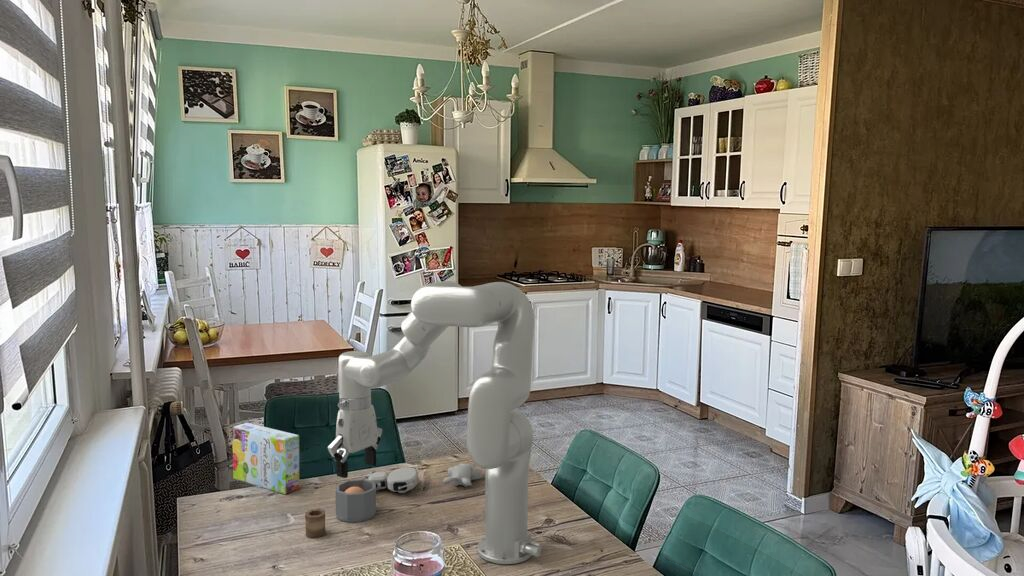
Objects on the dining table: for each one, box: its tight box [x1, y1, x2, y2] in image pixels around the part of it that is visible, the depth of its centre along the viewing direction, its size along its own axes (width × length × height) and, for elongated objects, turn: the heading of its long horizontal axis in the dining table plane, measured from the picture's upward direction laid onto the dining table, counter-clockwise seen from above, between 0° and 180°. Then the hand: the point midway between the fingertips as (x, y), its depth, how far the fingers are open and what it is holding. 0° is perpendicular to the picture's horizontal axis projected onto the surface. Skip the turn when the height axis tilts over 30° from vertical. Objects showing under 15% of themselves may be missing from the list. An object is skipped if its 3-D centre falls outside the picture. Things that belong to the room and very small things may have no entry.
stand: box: [304, 508, 326, 539], centre depth 165 cm, size 4×4×5 cm
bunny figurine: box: [442, 463, 483, 488], centre depth 196 cm, size 10×5×15 cm
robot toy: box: [363, 466, 420, 494], centre depth 192 cm, size 12×4×15 cm
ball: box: [345, 487, 365, 494], centre depth 175 cm, size 6×6×6 cm
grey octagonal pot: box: [335, 478, 377, 523], centre depth 175 cm, size 10×10×7 cm
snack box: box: [231, 422, 300, 495], centre depth 193 cm, size 21×6×15 cm, turn 59°
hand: (356, 470), depth 174 cm, fingers open, 9 cm apart
